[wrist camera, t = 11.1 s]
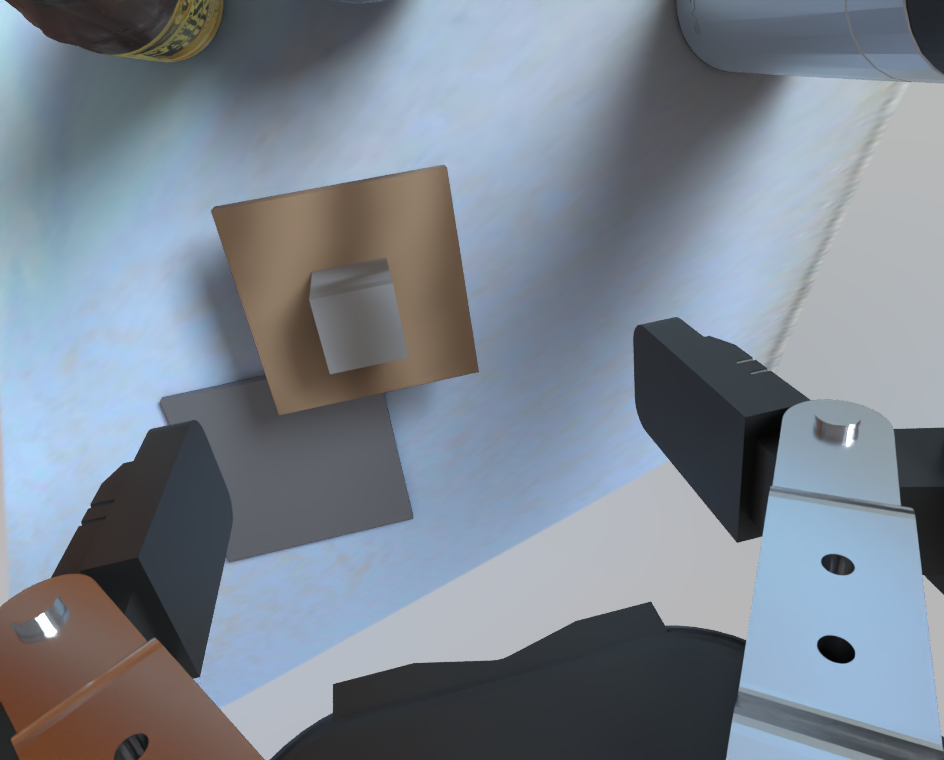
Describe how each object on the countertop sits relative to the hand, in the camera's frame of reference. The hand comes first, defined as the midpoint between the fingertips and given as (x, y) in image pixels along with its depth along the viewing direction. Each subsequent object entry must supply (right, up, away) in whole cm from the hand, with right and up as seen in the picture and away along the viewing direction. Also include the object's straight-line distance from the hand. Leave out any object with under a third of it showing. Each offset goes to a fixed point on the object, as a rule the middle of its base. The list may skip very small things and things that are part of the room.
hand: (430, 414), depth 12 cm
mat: (-12, -5, +34) cm, 37 cm away
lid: (-6, +6, +25) cm, 26 cm away
